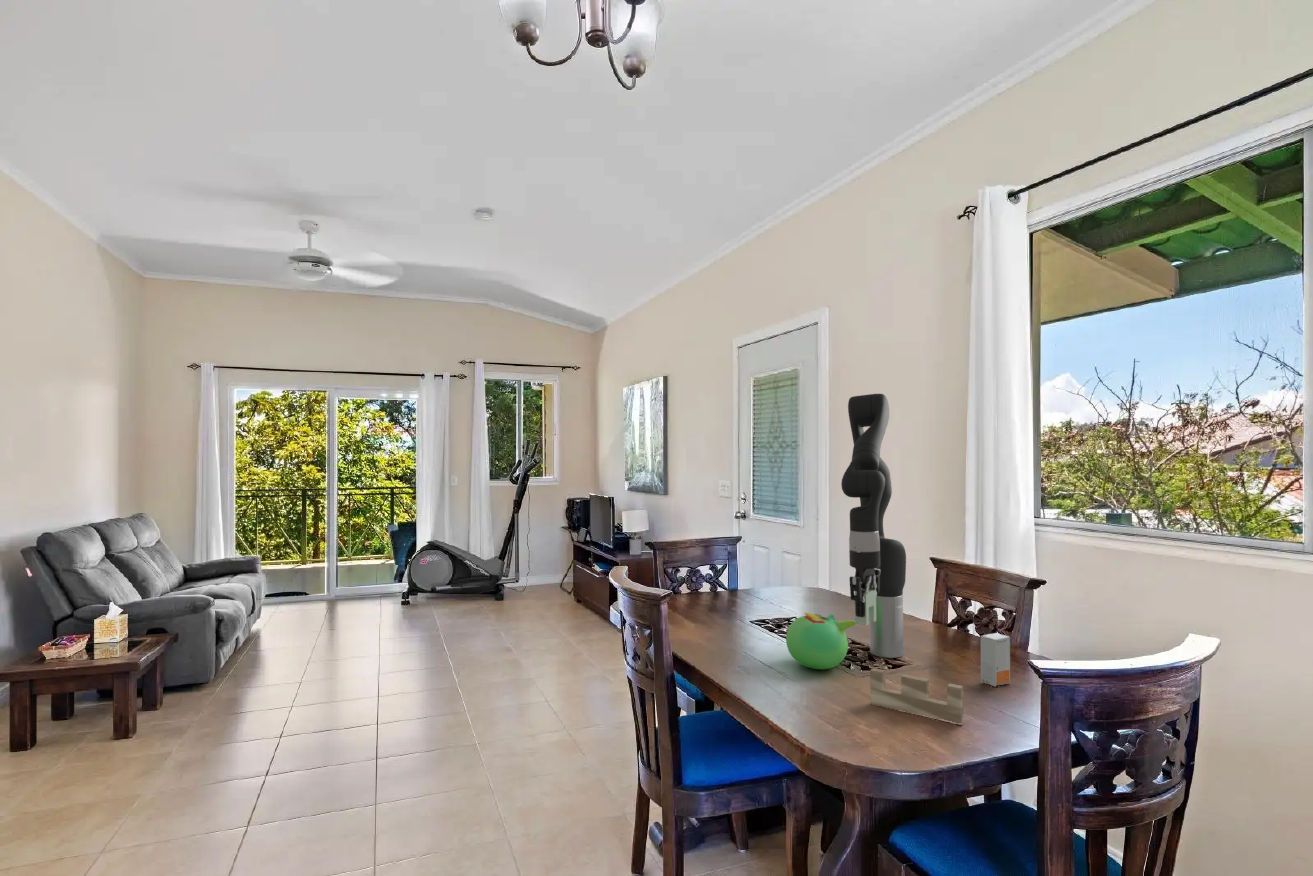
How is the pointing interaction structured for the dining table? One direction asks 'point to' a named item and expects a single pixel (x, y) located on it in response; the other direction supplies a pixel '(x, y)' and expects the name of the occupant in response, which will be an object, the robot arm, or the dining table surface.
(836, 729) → the dining table surface
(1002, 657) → the skincare box
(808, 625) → the toy bird
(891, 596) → the robot arm
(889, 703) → the maple board
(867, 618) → the notched block
